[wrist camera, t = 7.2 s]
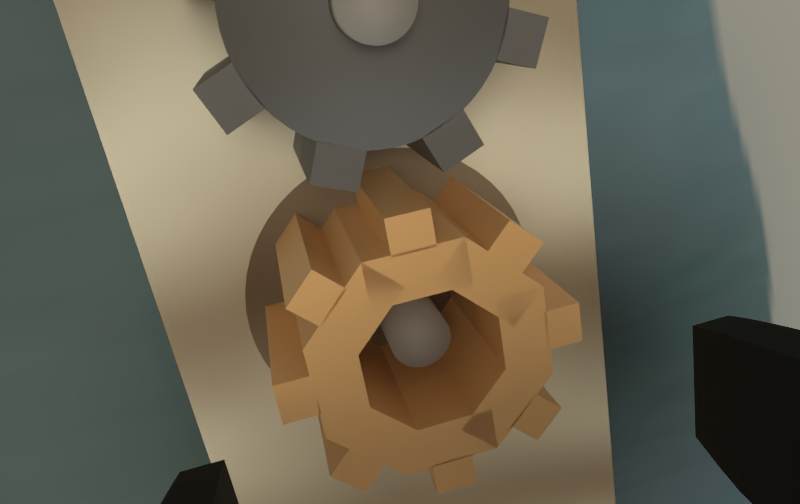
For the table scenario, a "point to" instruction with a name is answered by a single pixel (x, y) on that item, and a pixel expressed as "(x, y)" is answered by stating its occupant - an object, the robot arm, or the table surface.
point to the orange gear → (376, 365)
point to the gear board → (344, 200)
